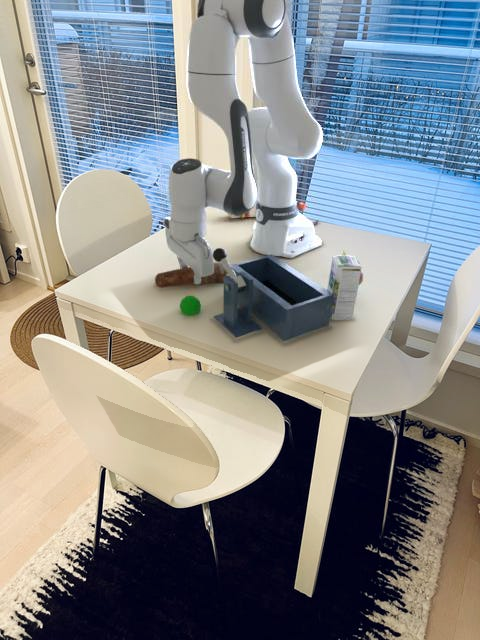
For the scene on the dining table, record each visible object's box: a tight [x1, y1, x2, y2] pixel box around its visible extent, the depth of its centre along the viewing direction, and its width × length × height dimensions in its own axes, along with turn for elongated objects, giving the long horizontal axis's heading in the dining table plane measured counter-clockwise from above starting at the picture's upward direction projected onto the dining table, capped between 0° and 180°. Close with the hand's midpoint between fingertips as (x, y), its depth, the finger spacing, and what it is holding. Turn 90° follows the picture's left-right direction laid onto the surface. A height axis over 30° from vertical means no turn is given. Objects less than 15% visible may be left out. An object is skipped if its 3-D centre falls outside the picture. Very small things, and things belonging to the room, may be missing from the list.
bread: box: [154, 261, 228, 288], centre depth 132 cm, size 6×19×6 cm, turn 102°
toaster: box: [228, 254, 334, 342], centre depth 120 cm, size 13×24×9 cm, turn 32°
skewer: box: [227, 204, 256, 219], centre depth 175 cm, size 21×6×5 cm, turn 109°
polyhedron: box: [179, 295, 202, 316], centre depth 120 cm, size 5×5×5 cm
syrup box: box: [326, 254, 363, 321], centre depth 119 cm, size 6×6×14 cm
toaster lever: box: [212, 247, 247, 293], centre depth 113 cm, size 12×3×3 cm, turn 32°
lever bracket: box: [213, 271, 263, 338], centre depth 114 cm, size 10×7×13 cm
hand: (190, 277), depth 132 cm, fingers closed on bread, 6 cm apart
